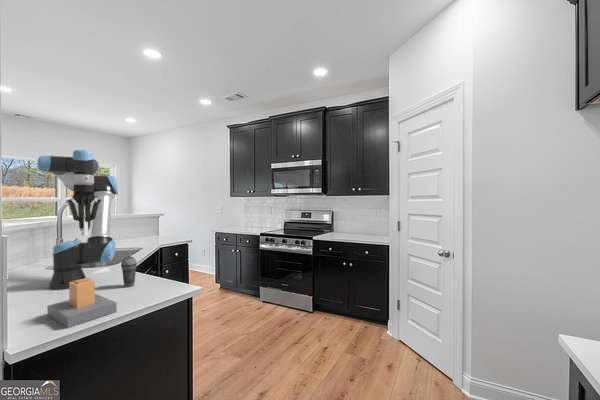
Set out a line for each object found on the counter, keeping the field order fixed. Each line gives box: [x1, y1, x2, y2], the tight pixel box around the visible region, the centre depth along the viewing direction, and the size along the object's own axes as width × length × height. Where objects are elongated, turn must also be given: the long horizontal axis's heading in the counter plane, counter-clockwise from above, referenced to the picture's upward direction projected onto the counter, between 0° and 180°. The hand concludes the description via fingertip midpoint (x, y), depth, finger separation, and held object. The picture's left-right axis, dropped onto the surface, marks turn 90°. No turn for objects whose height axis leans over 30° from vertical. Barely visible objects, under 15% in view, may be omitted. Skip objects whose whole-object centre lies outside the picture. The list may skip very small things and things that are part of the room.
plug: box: [68, 277, 96, 308], centre depth 111 cm, size 7×6×12 cm
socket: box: [46, 293, 118, 329], centre depth 111 cm, size 20×16×4 cm
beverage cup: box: [120, 247, 138, 288], centre depth 145 cm, size 7×7×20 cm
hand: (84, 235), depth 127 cm, fingers closed
